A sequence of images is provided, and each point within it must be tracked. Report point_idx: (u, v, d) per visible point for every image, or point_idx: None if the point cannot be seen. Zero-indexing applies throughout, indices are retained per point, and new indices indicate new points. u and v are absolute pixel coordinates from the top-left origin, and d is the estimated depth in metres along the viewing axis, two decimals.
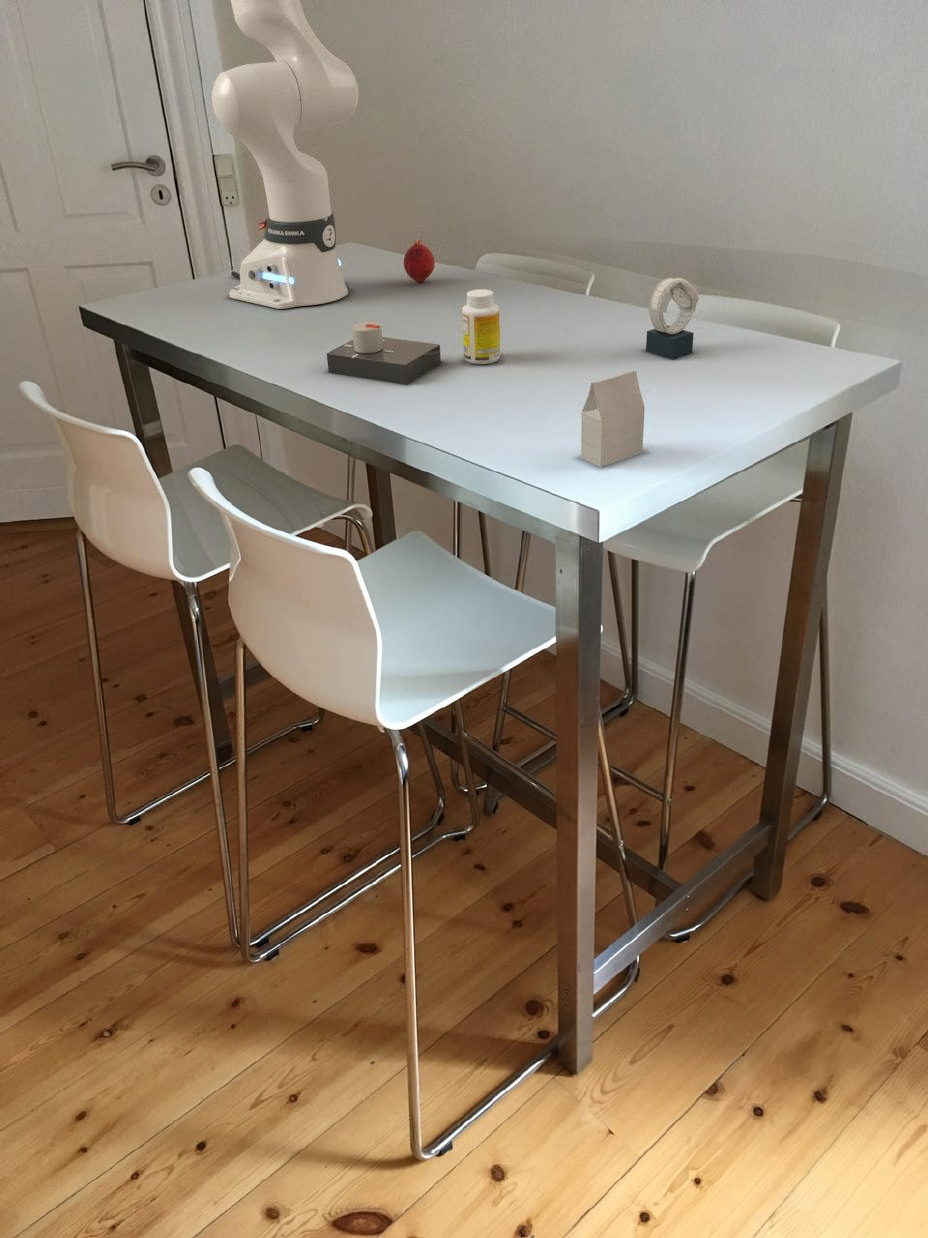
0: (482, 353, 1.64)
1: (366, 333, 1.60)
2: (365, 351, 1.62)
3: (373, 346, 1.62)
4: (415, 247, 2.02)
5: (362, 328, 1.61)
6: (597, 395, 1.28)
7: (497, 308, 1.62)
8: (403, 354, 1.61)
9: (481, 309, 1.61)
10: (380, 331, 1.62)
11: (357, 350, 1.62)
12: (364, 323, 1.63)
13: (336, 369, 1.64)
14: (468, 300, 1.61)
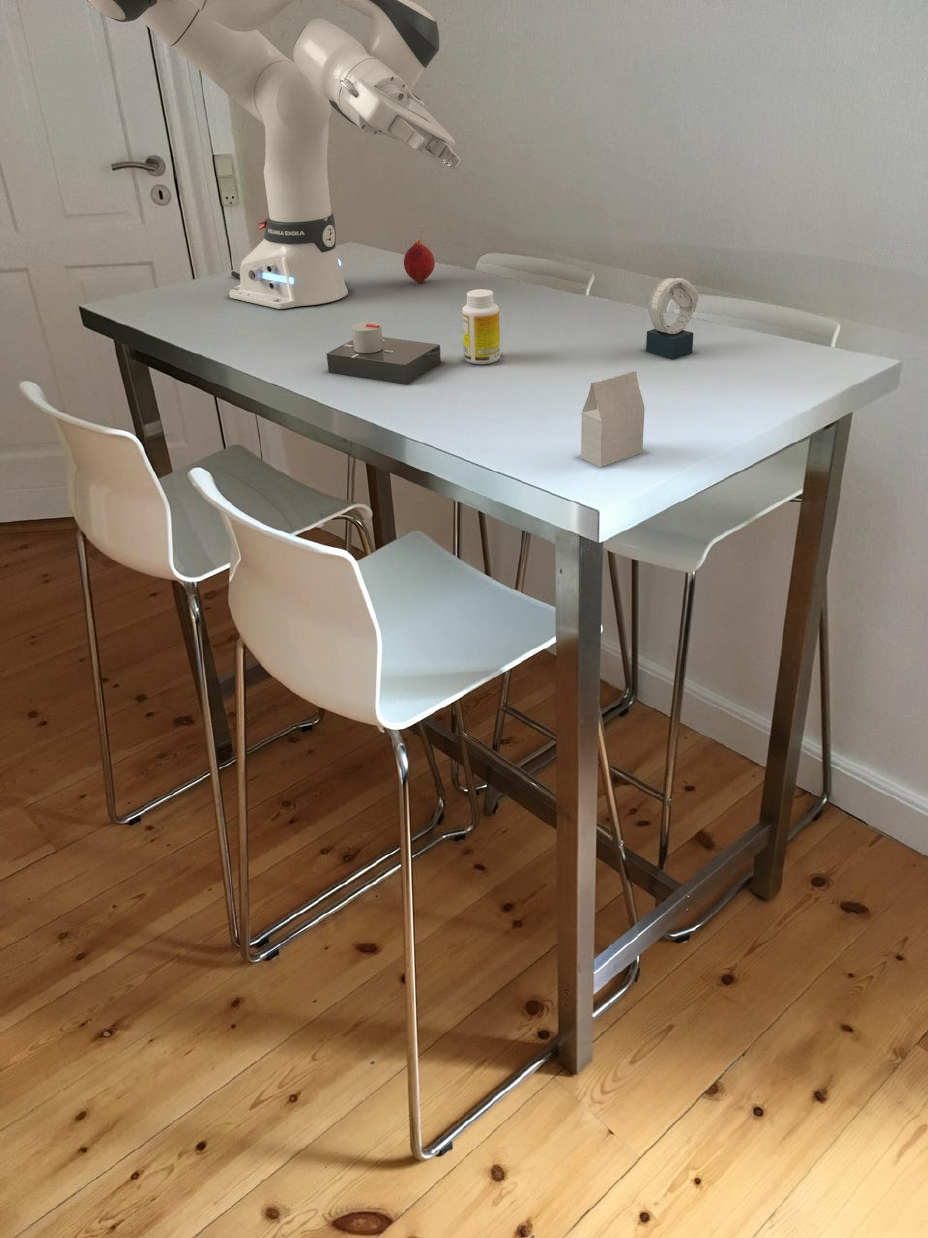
0: (482, 353, 1.64)
1: (366, 333, 1.60)
2: (365, 351, 1.62)
3: (373, 346, 1.62)
4: (415, 247, 2.02)
5: (362, 328, 1.61)
6: (597, 395, 1.28)
7: (497, 308, 1.62)
8: (403, 354, 1.61)
9: (481, 309, 1.61)
10: (380, 331, 1.62)
11: (357, 350, 1.62)
12: (364, 323, 1.63)
13: (336, 369, 1.64)
14: (468, 300, 1.61)
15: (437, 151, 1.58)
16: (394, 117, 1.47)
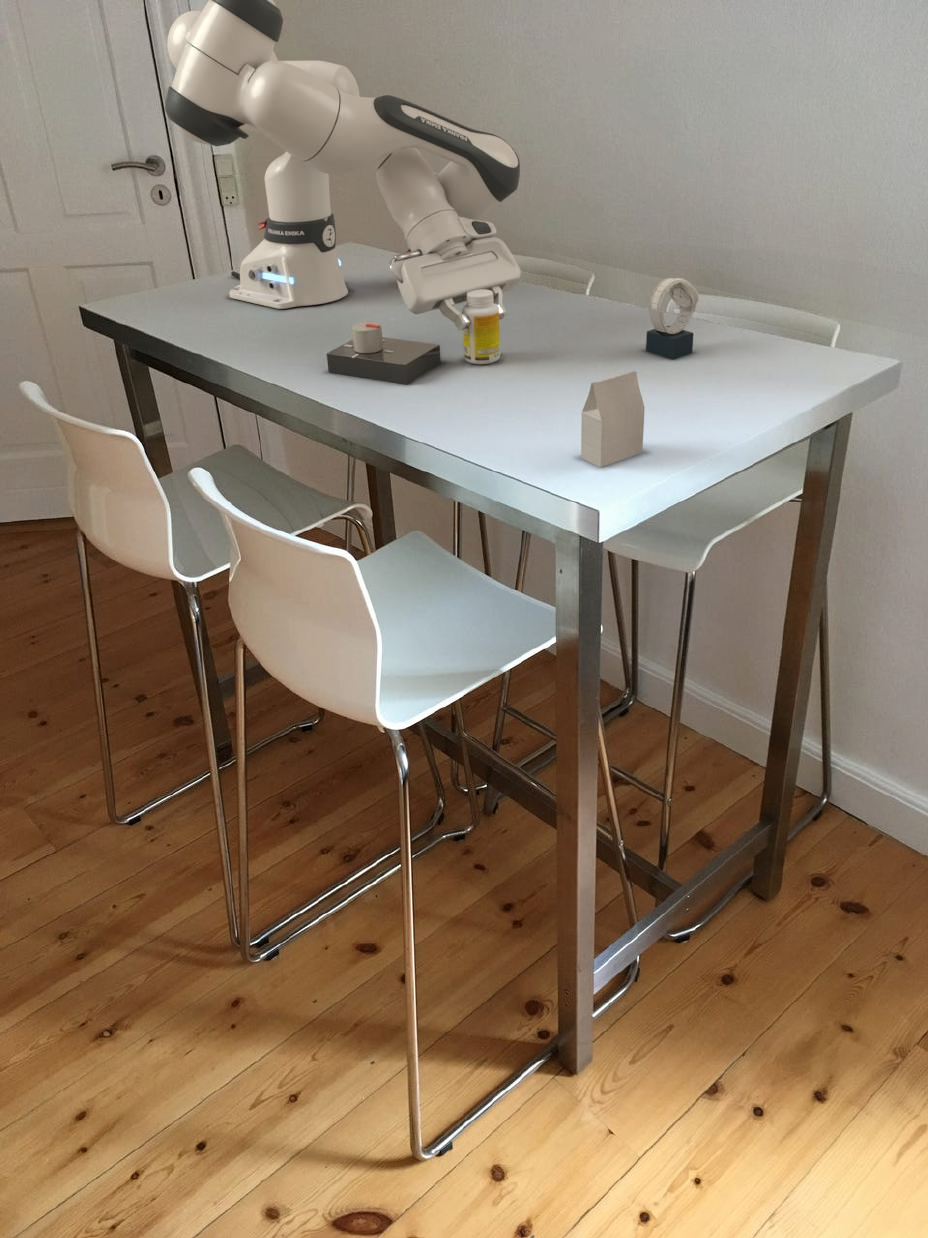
0: (482, 353, 1.64)
1: (366, 333, 1.60)
2: (365, 351, 1.62)
3: (373, 346, 1.62)
4: None
5: (362, 328, 1.61)
6: (597, 395, 1.28)
7: (497, 308, 1.62)
8: (403, 354, 1.61)
9: (481, 309, 1.61)
10: (380, 331, 1.62)
11: (357, 350, 1.62)
12: (364, 323, 1.63)
13: (336, 369, 1.64)
14: (468, 300, 1.61)
15: None
16: (434, 303, 1.60)
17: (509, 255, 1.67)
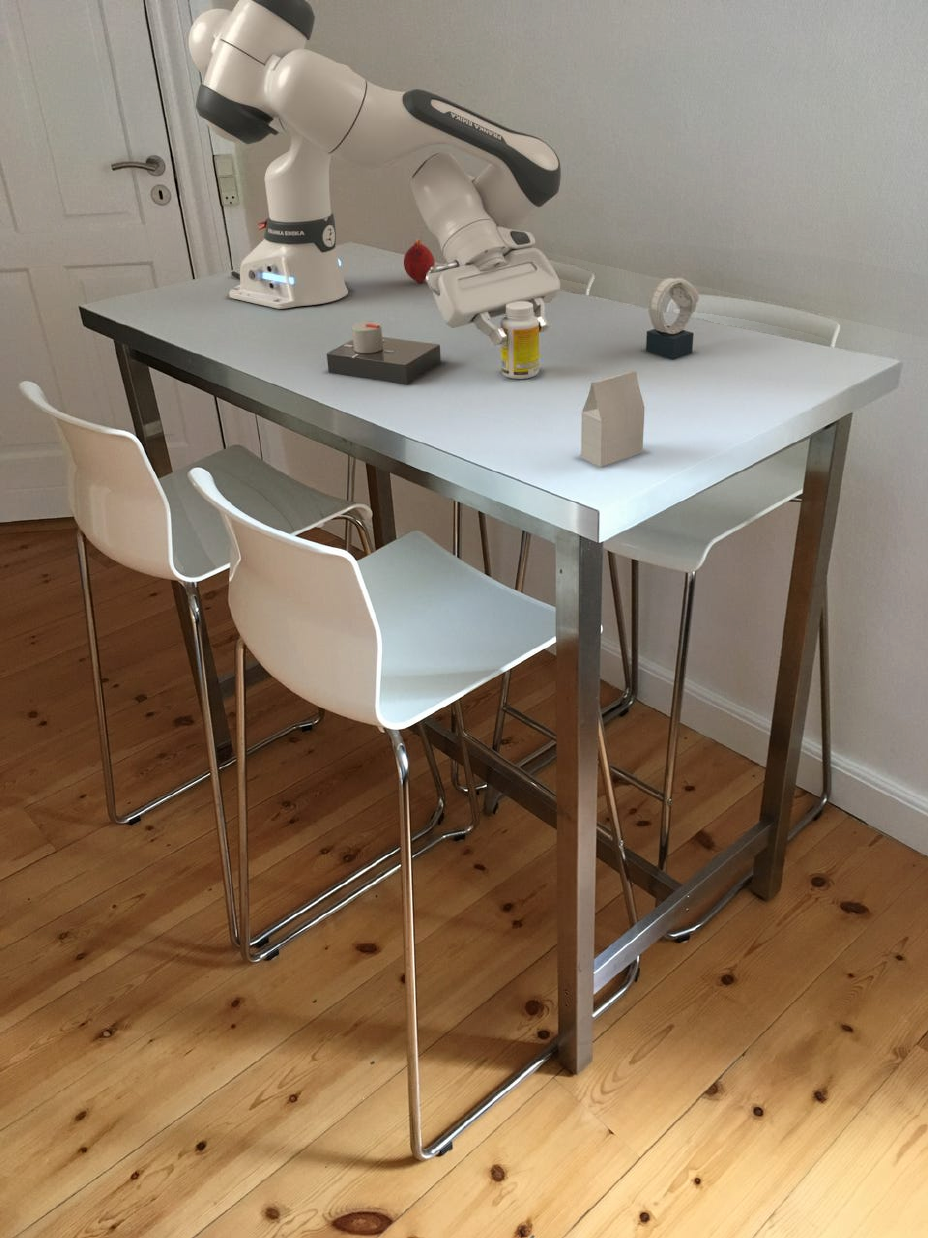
0: (521, 368, 1.57)
1: (366, 333, 1.60)
2: (365, 351, 1.62)
3: (373, 346, 1.62)
4: (415, 247, 2.02)
5: (362, 328, 1.61)
6: (597, 395, 1.28)
7: (537, 321, 1.56)
8: (403, 354, 1.61)
9: (521, 322, 1.54)
10: (380, 331, 1.62)
11: (357, 350, 1.62)
12: (364, 323, 1.63)
13: (336, 369, 1.64)
14: (507, 312, 1.55)
15: None
16: (472, 316, 1.54)
17: (548, 266, 1.61)
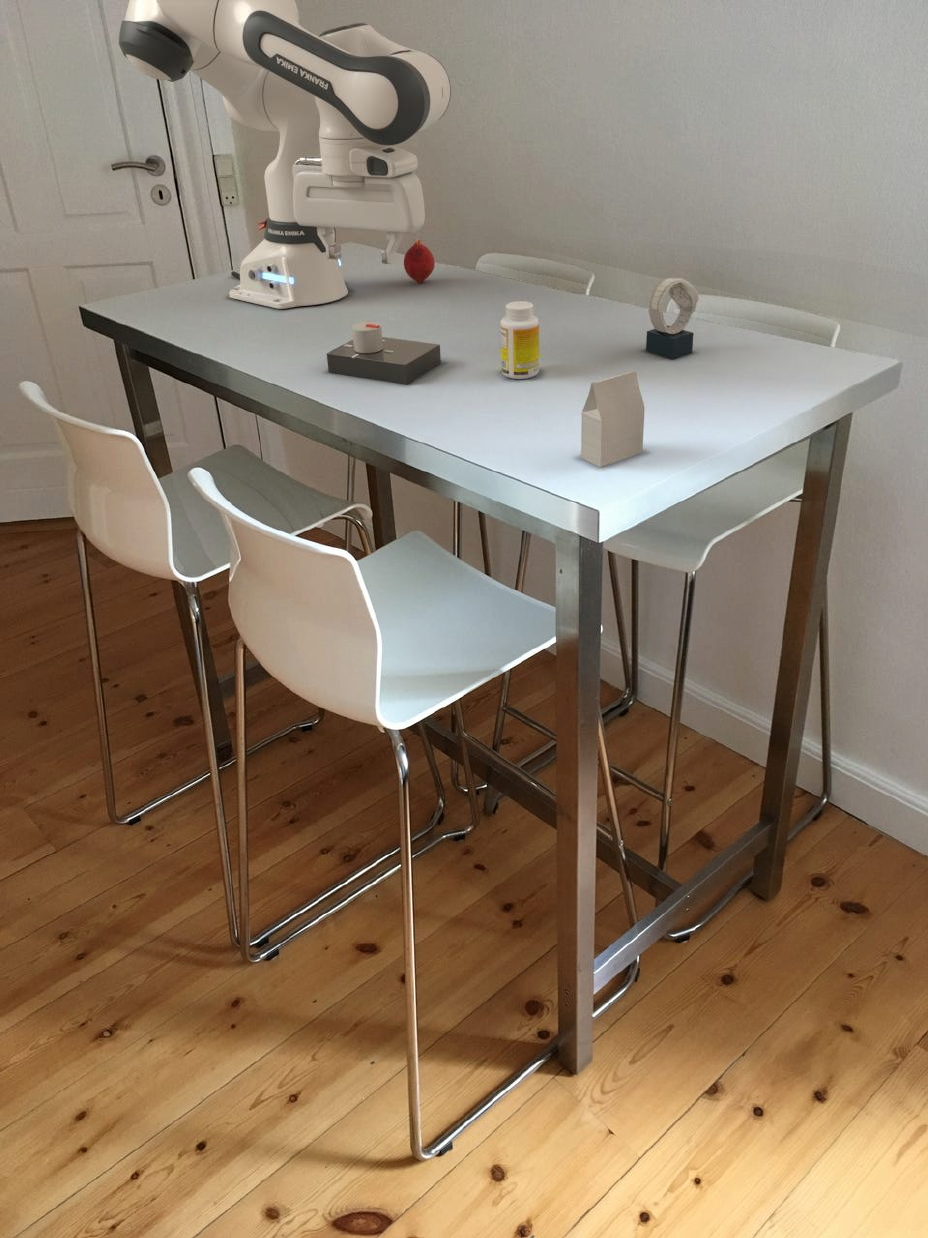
0: (521, 368, 1.57)
1: (366, 333, 1.60)
2: (365, 351, 1.62)
3: (373, 346, 1.62)
4: (415, 247, 2.02)
5: (362, 328, 1.61)
6: (597, 395, 1.28)
7: (537, 321, 1.56)
8: (403, 354, 1.61)
9: (521, 322, 1.54)
10: (380, 331, 1.62)
11: (357, 350, 1.62)
12: (364, 323, 1.63)
13: (336, 369, 1.64)
14: (507, 312, 1.55)
15: None
16: None
17: (403, 205, 1.47)
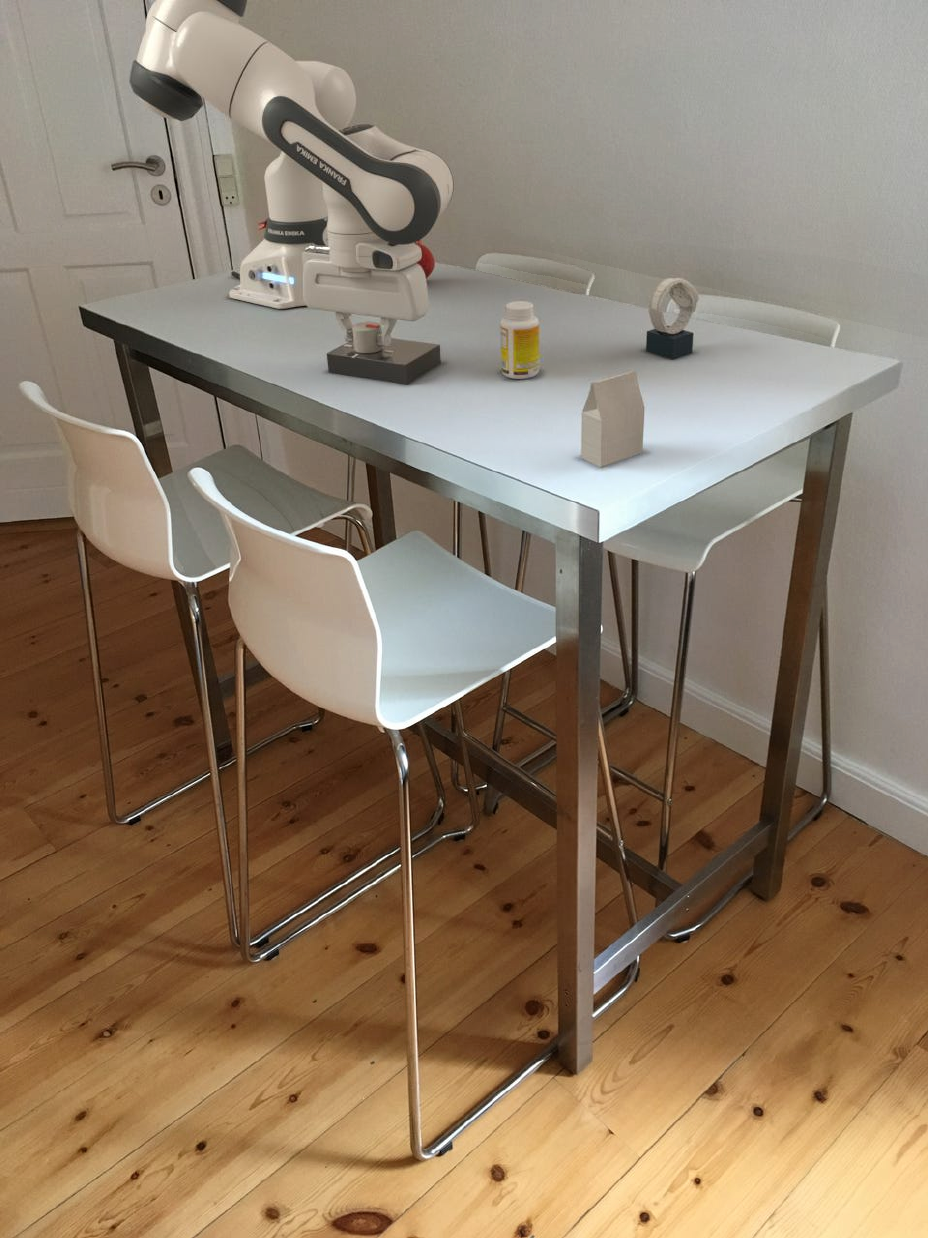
0: (521, 368, 1.57)
1: (366, 333, 1.60)
2: (365, 351, 1.62)
3: (373, 346, 1.62)
4: None
5: (362, 328, 1.61)
6: (597, 395, 1.28)
7: (537, 321, 1.56)
8: (403, 354, 1.61)
9: (521, 322, 1.54)
10: (380, 331, 1.62)
11: (357, 350, 1.62)
12: (364, 323, 1.63)
13: (336, 369, 1.64)
14: (507, 312, 1.55)
15: None
16: None
17: (407, 296, 1.54)
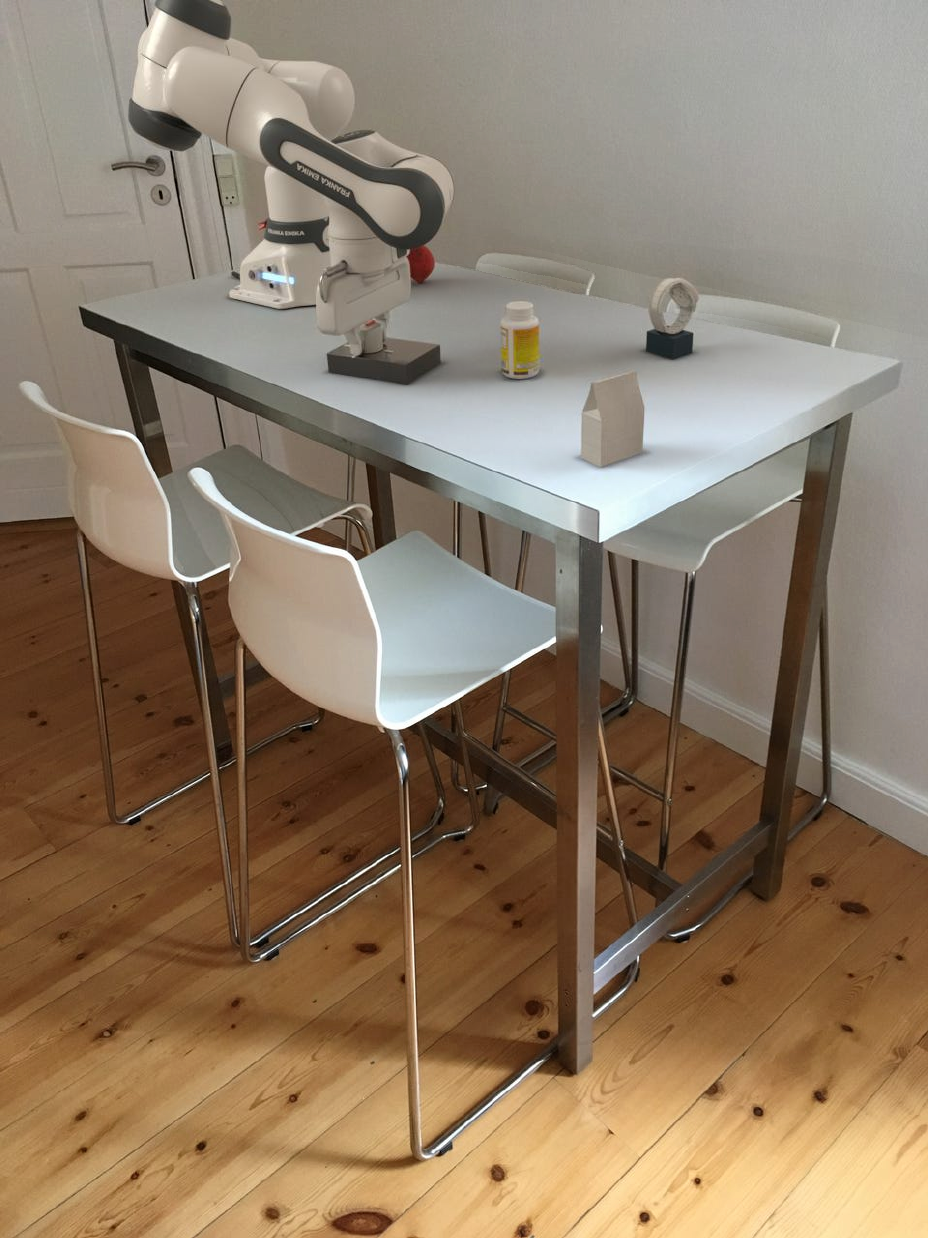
0: (521, 368, 1.57)
1: (381, 327, 1.62)
2: (382, 346, 1.64)
3: None
4: None
5: (375, 326, 1.62)
6: (597, 395, 1.28)
7: (537, 321, 1.56)
8: (403, 354, 1.61)
9: (521, 322, 1.54)
10: None
11: (378, 349, 1.63)
12: None
13: (336, 369, 1.64)
14: (507, 312, 1.55)
15: None
16: None
17: (408, 277, 1.65)
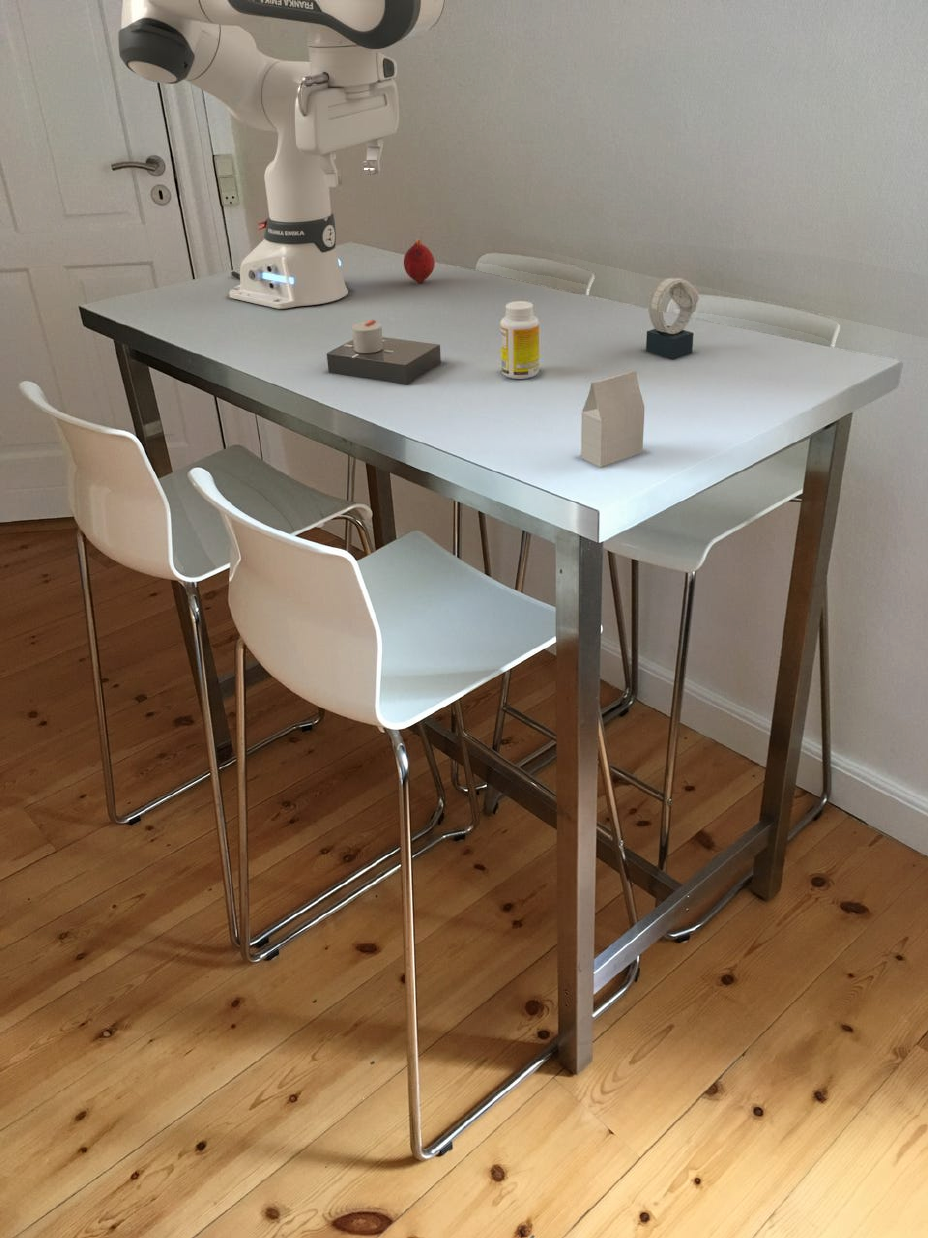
0: (521, 368, 1.57)
1: (381, 327, 1.62)
2: (382, 346, 1.64)
3: None
4: (415, 247, 2.02)
5: (375, 326, 1.62)
6: (597, 395, 1.28)
7: (537, 321, 1.56)
8: (403, 354, 1.61)
9: (521, 322, 1.54)
10: None
11: (378, 349, 1.63)
12: (358, 327, 1.62)
13: (336, 369, 1.64)
14: (507, 312, 1.55)
15: (368, 143, 1.53)
16: None
17: (396, 105, 1.52)
